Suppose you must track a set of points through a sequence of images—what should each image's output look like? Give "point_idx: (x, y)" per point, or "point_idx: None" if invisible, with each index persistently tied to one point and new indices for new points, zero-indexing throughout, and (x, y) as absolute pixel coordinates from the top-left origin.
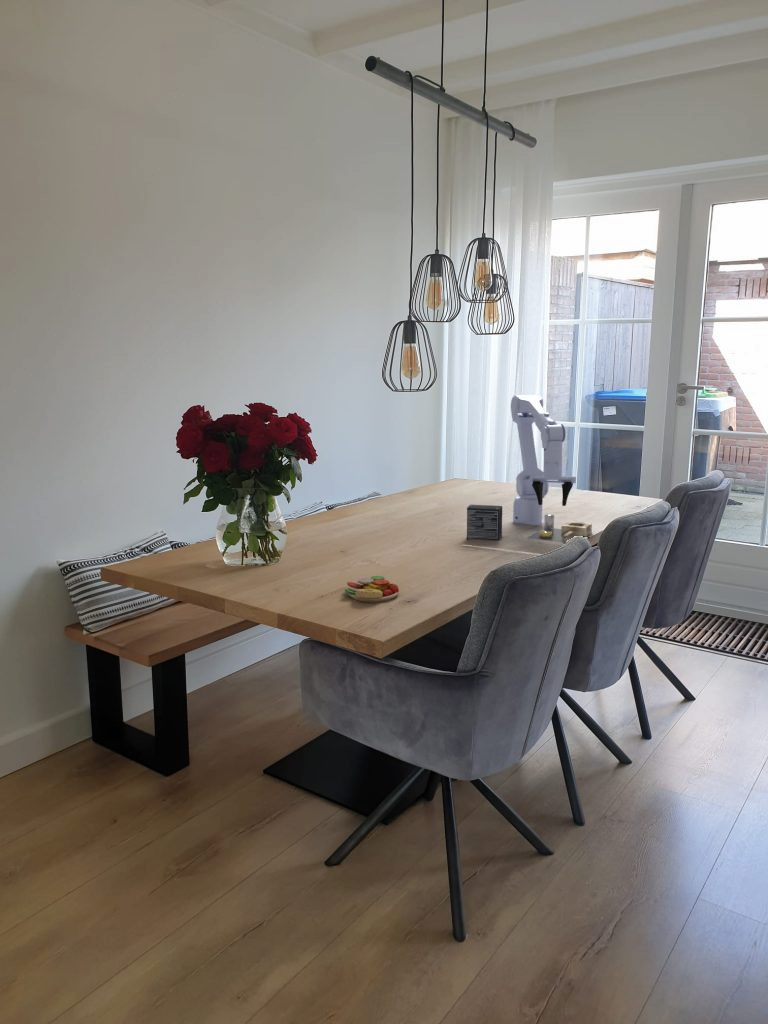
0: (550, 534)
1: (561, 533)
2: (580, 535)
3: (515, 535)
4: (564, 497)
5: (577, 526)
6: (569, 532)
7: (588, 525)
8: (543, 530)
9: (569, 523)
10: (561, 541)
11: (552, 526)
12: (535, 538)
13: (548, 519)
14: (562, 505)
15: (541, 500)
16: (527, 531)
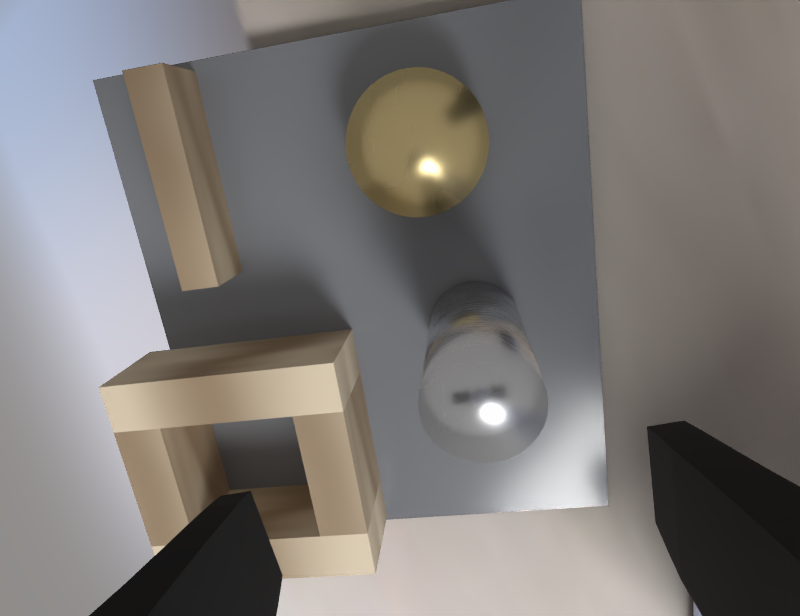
0: (350, 123)
1: (348, 334)
2: (177, 352)
3: (760, 89)
4: (120, 602)
5: (191, 412)
6: (190, 237)
7: (140, 501)
8: (466, 187)
9: (320, 490)
10: (210, 73)
11: (429, 335)
12: (481, 18)
13: (465, 331)
14: (245, 493)
15: (689, 534)
16: (709, 328)
